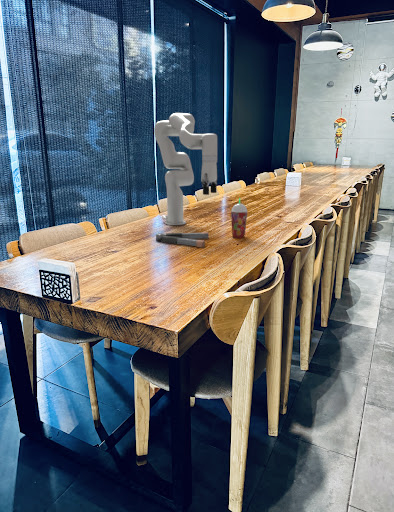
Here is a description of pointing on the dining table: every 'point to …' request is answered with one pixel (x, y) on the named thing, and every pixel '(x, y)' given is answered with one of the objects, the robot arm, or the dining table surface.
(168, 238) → the bar
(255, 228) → the dining table surface
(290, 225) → the dining table surface
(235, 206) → the smoothie
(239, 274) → the dining table surface
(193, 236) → the tongs moving jaw
